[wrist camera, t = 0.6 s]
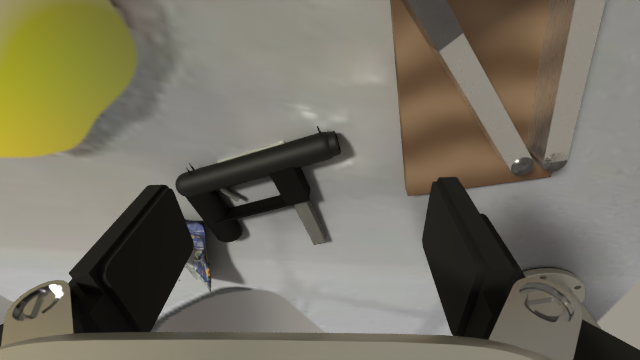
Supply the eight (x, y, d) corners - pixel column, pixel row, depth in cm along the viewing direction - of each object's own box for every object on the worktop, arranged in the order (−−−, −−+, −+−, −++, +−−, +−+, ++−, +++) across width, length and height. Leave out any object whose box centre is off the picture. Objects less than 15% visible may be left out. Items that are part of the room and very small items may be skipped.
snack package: (142, 254, 46) (216, 281, 48) (115, 284, 40) (201, 313, 42) (161, 189, 42) (241, 221, 43) (133, 212, 36) (228, 248, 37)
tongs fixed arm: (545, 153, 31) (565, 169, 28) (523, 156, 31) (541, 173, 29) (596, -102, 21) (635, -116, 18) (562, -93, 21) (595, -105, 18)
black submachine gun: (369, 237, 38) (330, 127, 29) (230, 266, 43) (160, 178, 34) (367, 219, 41) (330, 113, 32) (236, 248, 45) (172, 162, 37)
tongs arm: (521, 152, 31) (538, 168, 28) (501, 163, 32) (515, 179, 29) (420, -28, 23) (430, -30, 21) (397, -7, 24) (403, -6, 22)
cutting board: (543, 169, 34) (551, 176, 33) (405, 188, 36) (407, 196, 35) (604, -139, 21) (621, -147, 20) (384, -77, 23) (386, -81, 22)
